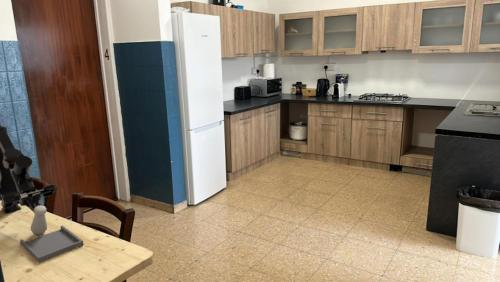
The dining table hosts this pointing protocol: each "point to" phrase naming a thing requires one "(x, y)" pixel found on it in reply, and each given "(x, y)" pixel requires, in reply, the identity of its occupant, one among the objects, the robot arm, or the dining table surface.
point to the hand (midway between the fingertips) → (37, 213)
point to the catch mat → (52, 244)
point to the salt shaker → (39, 221)
